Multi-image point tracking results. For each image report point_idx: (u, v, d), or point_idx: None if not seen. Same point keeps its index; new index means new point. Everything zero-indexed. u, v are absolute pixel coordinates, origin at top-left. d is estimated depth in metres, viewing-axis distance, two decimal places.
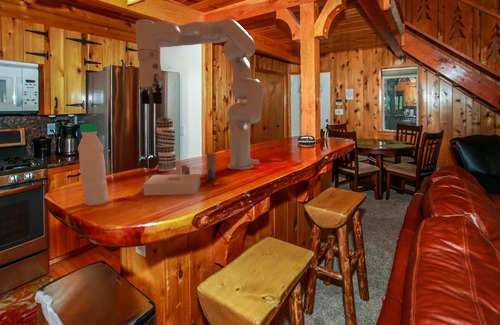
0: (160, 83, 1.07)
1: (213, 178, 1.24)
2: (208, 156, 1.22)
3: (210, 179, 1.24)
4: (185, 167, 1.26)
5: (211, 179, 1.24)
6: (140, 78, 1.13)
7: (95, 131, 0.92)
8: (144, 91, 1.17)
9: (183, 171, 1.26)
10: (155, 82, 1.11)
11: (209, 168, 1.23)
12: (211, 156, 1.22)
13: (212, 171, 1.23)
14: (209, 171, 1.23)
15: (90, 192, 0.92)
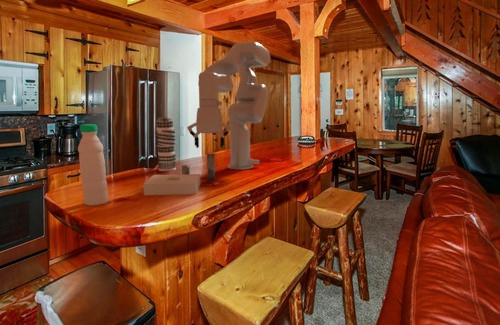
0: (229, 130, 1.21)
1: (213, 178, 1.24)
2: (208, 156, 1.22)
3: (210, 179, 1.24)
4: (185, 167, 1.26)
5: (211, 179, 1.24)
6: (200, 124, 1.18)
7: (95, 131, 0.92)
8: None
9: (183, 171, 1.26)
10: None
11: (209, 168, 1.23)
12: (211, 156, 1.22)
13: (212, 171, 1.23)
14: (209, 171, 1.23)
15: (90, 192, 0.92)
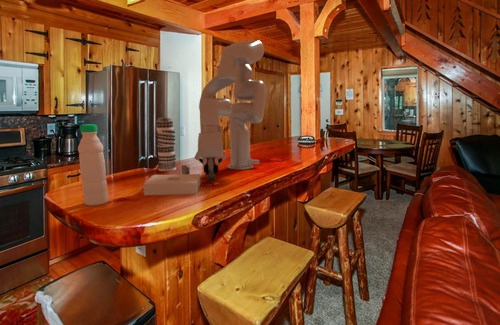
0: None
1: (213, 178, 1.24)
2: None
3: (210, 179, 1.24)
4: (185, 167, 1.26)
5: (211, 179, 1.24)
6: (202, 149, 1.20)
7: (95, 131, 0.92)
8: None
9: (183, 171, 1.26)
10: None
11: (209, 168, 1.23)
12: None
13: (212, 171, 1.23)
14: (209, 171, 1.23)
15: (90, 192, 0.92)
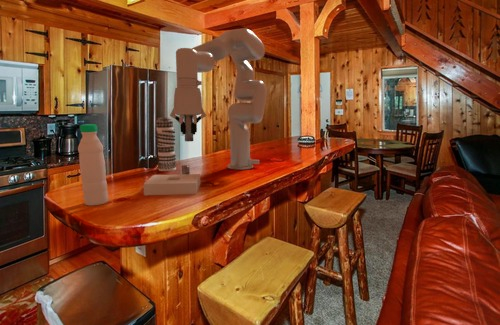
0: (203, 117, 1.13)
1: (191, 138, 1.13)
2: None
3: (187, 139, 1.12)
4: (185, 167, 1.26)
5: (188, 139, 1.12)
6: (178, 105, 1.09)
7: (95, 131, 0.92)
8: None
9: (183, 171, 1.26)
10: None
11: (186, 127, 1.12)
12: None
13: (190, 130, 1.12)
14: (186, 130, 1.12)
15: (90, 192, 0.92)
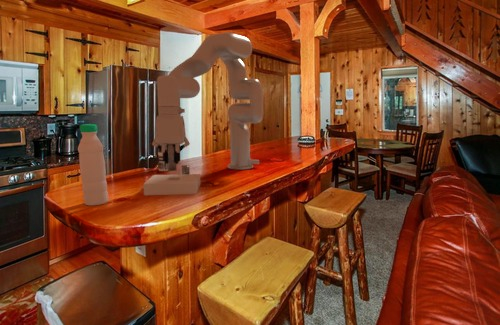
0: (186, 146, 1.09)
1: (174, 168, 1.08)
2: None
3: (170, 169, 1.08)
4: (185, 167, 1.26)
5: (171, 169, 1.08)
6: (160, 134, 1.05)
7: (95, 131, 0.92)
8: (164, 149, 1.08)
9: (183, 171, 1.26)
10: None
11: (169, 156, 1.07)
12: None
13: (172, 160, 1.08)
14: (169, 159, 1.08)
15: (90, 192, 0.92)
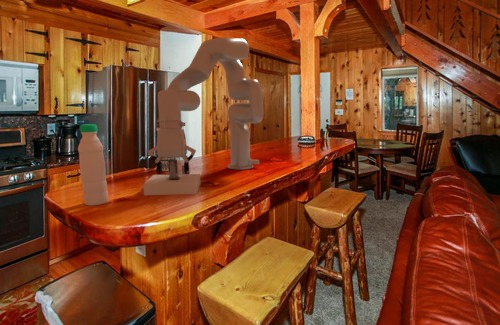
0: (194, 153, 1.09)
1: None
2: (169, 163, 1.08)
3: None
4: None
5: None
6: (161, 148, 1.06)
7: (95, 131, 0.92)
8: None
9: (183, 171, 1.26)
10: None
11: (171, 176, 1.09)
12: (173, 163, 1.08)
13: (174, 179, 1.10)
14: (171, 179, 1.09)
15: (90, 192, 0.92)
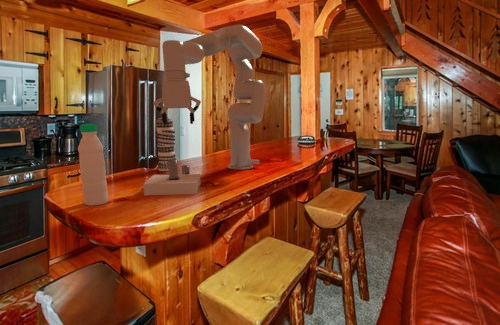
0: (199, 104, 1.12)
1: None
2: (169, 163, 1.08)
3: None
4: (185, 167, 1.26)
5: None
6: (167, 98, 1.09)
7: (95, 131, 0.92)
8: None
9: (183, 171, 1.26)
10: None
11: (171, 176, 1.09)
12: (173, 163, 1.08)
13: (174, 179, 1.10)
14: (171, 179, 1.09)
15: (90, 192, 0.92)
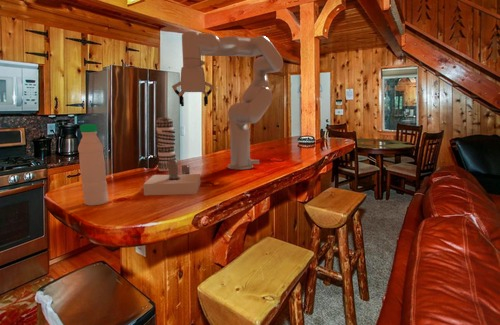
0: (212, 89, 1.27)
1: None
2: (169, 163, 1.08)
3: None
4: (185, 167, 1.26)
5: None
6: (184, 82, 1.24)
7: (95, 131, 0.92)
8: (181, 94, 1.27)
9: (183, 171, 1.26)
10: None
11: (171, 176, 1.09)
12: (173, 163, 1.08)
13: (174, 179, 1.10)
14: (171, 179, 1.09)
15: (90, 192, 0.92)
